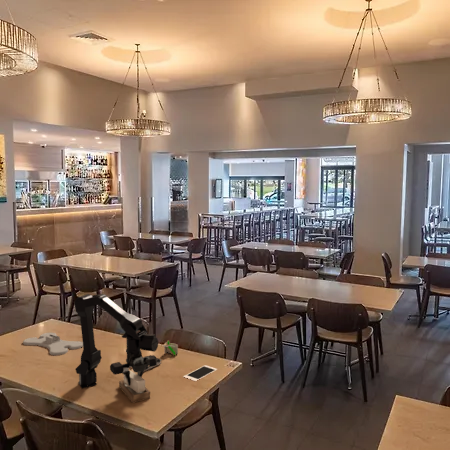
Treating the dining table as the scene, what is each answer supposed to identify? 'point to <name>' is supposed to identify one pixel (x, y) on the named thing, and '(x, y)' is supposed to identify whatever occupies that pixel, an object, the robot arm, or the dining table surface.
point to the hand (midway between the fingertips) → (134, 384)
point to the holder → (53, 343)
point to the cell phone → (200, 373)
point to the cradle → (134, 393)
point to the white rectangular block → (135, 382)
